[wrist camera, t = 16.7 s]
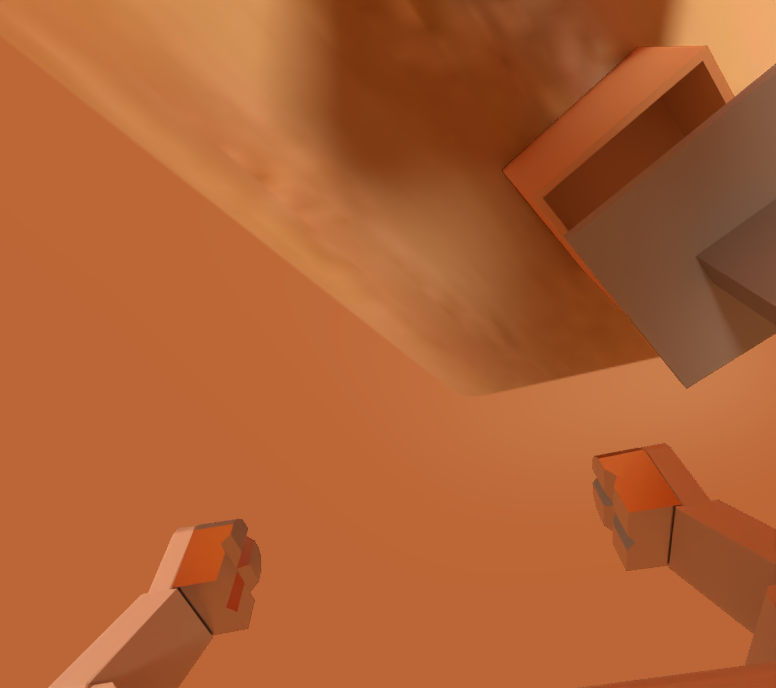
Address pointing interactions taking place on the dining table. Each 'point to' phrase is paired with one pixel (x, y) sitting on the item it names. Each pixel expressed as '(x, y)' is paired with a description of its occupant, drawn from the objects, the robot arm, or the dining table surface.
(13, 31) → the dining table surface
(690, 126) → the large tan box
